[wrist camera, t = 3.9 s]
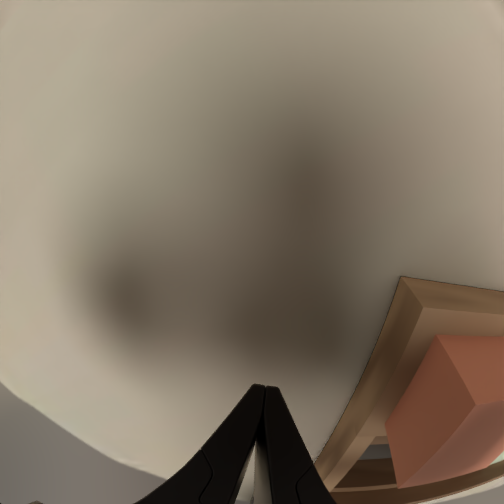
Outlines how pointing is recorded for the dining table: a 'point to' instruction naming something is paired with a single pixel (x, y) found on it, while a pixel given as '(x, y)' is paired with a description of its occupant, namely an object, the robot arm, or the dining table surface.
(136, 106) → the dining table surface
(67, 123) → the dining table surface
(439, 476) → the block
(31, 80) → the dining table surface
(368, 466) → the brown compartment tray
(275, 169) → the dining table surface
